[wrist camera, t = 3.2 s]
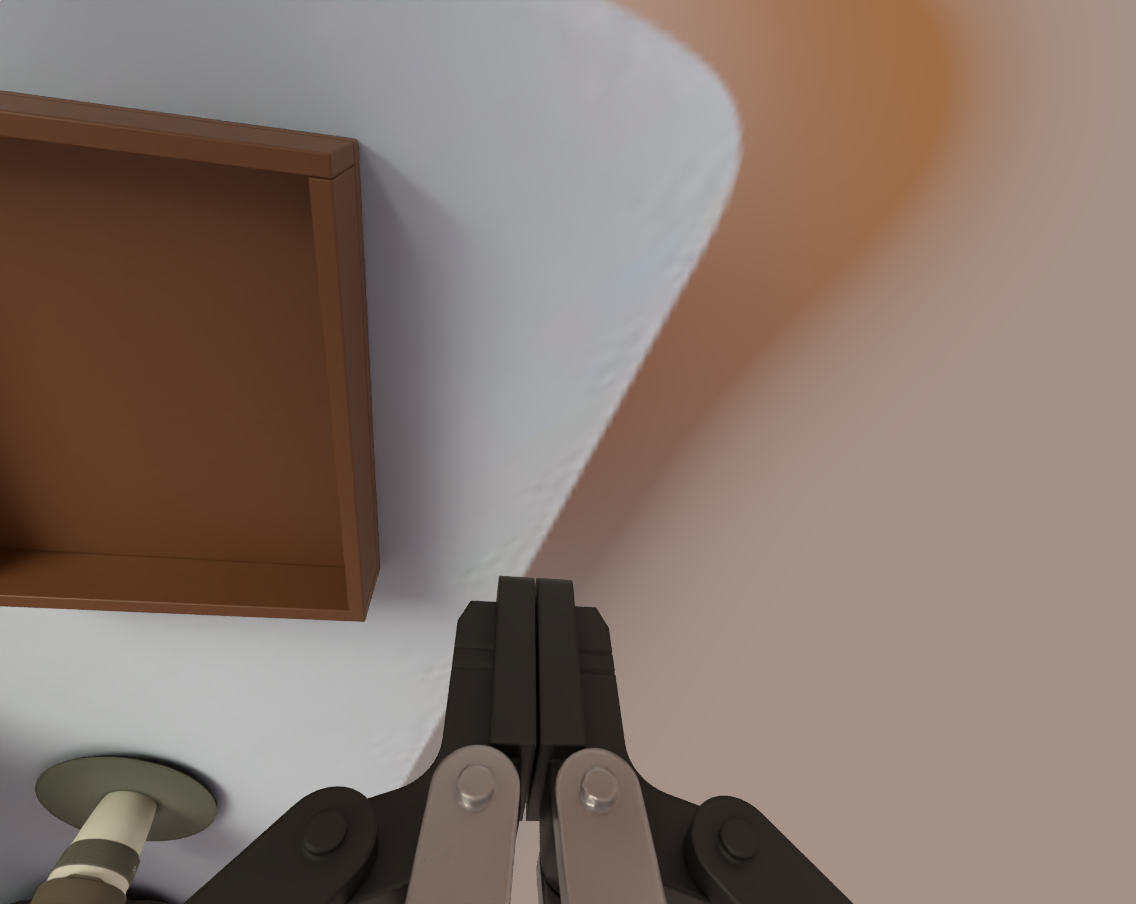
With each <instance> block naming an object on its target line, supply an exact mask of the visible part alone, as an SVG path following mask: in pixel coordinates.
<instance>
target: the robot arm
mask: <svg viewBox="0 0 1136 904" xmlns="http://www.w3.org/2000/svg"><path fill="white" fill-rule="evenodd" d="M614 671H615V669H614V662H613V656H612V648H611V640H610V633H609V628H608V626H607V624H606V623H605V621H604V620H603V618H602V616H601V615H600V613H599V612H598V610H597V608H595V607H578V606H575V604H574V591H573V583H572V580H563V579H547V578H537V579H536V583H535V581H534V578H527V577H511V576H499V581H498V590H497V600H496V602H485V601H470V603H469V604H468V606H467V607H466V609H465V610H464V612H463V613H462V615H461V616H460V618H459V619H458V623H457V631H456V638H455V647H454V654H453V662H452V670H451V677H450V685H449V693H448V701H447V709H446V716H445V725H444V732H443V740H442V744H441V748H440V751H439V753H438V756H437V757H436V759H435V761H434V763H433V764H432V765H431V766H430V768H429V769H428V770H427V771H426V772H425V773H424V774H423V775H422V776H421V777H419V778H418V779H417V780H415V781H414V782H412V783H410V784H408V785H407V786H404V787H401V788H399V789H396V790H393V791H390V792H387V793H383V794H380V795H377V796H374V797H371V798H368V799H367V798H366V797H365V796H364V795H363V794H361V793H360V792H358V791H356V790H354V789H351V788H347V787H339V786H336V787H328V788H324V789H320V790H317V791H315V792H313V793H311V794H309V795H307V796H305V797H304V798H302V799H301V800H300V801H298V802H297V803H296V804H295V805H294V806H292V807H291V808H290V809H289V810H288V811H287V812H286V813H285V814H283V815H282V816H281V817H280V818H279V819H278V820H277V821H276V822H275V823H273V824H272V825H271V826H270V827H269V828H268V829H267V830H266V831H264V832H263V833H262V834H261V835H260V836H259V837H258V838H257V839H255V840H254V841H253V842H252V843H251V844H250V845H249V846H248V847H246V848H245V849H244V850H243V851H242V852H241V853H240V854H239V855H238V856H236V857H235V858H234V859H233V860H232V861H231V862H230V863H229V864H227V865H226V866H225V867H224V868H223V869H222V870H221V871H220V872H218V873H217V874H216V875H215V876H214V877H213V878H212V879H211V880H209V881H208V882H207V883H206V884H205V885H204V886H203V887H202V888H200V889H199V890H198V891H197V892H196V893H195V894H194V895H193V896H192V897H190V898H189V899H188V900H187V901H186V902H185V903H184V904H510V899H511V889H512V877H513V865H514V854H515V842H516V835H517V831H518V825H519V821H522V819H523V813H524V808H525V803H526V821H540V852H539V857H538V861H537V886H538V900H539V904H853V903H852V902H851V901H850V900H849V899H848V898H847V897H846V896H845V895H844V894H843V893H842V892H841V891H840V890H839V889H838V888H837V887H836V886H835V885H834V884H833V883H832V882H831V881H829V879H828V878H827V877H826V876H825V875H823V873H822V872H821V871H820V870H819V869H818V868H817V867H816V866H815V865H814V864H813V863H812V862H810V860H808V859H807V858H806V857H805V856H804V855H803V854H802V853H801V852H800V851H799V850H798V849H797V848H796V847H795V846H794V845H793V844H792V843H791V842H790V841H789V840H788V839H787V838H786V837H785V836H784V835H783V834H782V833H781V832H780V831H779V830H778V829H777V828H776V827H775V826H774V825H773V824H772V823H771V822H770V821H769V820H768V819H767V818H766V817H765V816H764V815H763V814H762V813H761V812H760V811H759V810H757V809H756V808H755V807H754V806H752V805H751V804H749V803H748V802H745V801H743V800H741V799H739V798H735V797H731V796H717V797H713V798H710V799H708V800H707V801H705V802H704V803H703V804H701V806H698V805H696V804H693V803H691V802H688V801H685V800H683V799H680V798H677V797H674V796H672V795H669V794H666V793H664V792H662V791H660V790H658V789H656V788H655V787H653V786H652V785H650V784H649V783H648V782H647V781H645V780H644V779H643V778H642V777H641V775H640V774H639V773H638V772H637V771H636V769H635V768H634V766H633V765H632V763H631V761H630V759H629V756H628V754H627V751H626V746H625V740H624V733H623V727H622V719H621V712H620V705H619V697H618V691H617V683H616V676H615V674H614Z"/></svg>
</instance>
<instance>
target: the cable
mask: <svg viewBox="0 0 1136 904" xmlns="http://www.w3.org/2000/svg"><path fill="white" fill-rule="evenodd" d="M31 901H32V899H31V900H24V901H19V902H15V903H11V904H30V903H31ZM125 904H167V903H164V902H160V901H154V900H137V901H130V900H127V899H126V902H125Z"/></svg>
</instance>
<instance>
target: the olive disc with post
mask: <svg viewBox="0 0 1136 904" xmlns="http://www.w3.org/2000/svg"><path fill="white" fill-rule="evenodd" d="M35 791H36V796H37V798H38V800H39V801H40V803H41V804H42V805H43V806H44V807H45V808H46V809H47V810H48V811H49V812H50V813H51V814H53V815H54V816H55V817H57V818H58V819H60V820H62V821H64V822H65V823H67V824H69V825H71V826H74V827H76V828H78V829H81V830H80V831H79V833H78V834H77V836H76V837H75V839H74V840H73V841H72V843H71V844H70V846H69V847H68V848H67V849H66V851H65V852H64V853H63V855H62V856H61V858H60V860H59V861H58V863H57V864H56V866H55V867H54V868H53V870H52V871H51V874H50V876H49V877H48V879H47V881H46V882H44V883H42V884H41V885H40V886H39V887H38V888H37V890H36V892H35V894H34V896H33V899H32V901H31V903H30V904H125V902H126V895H125V894H126V891H127V889H128V888H129V887H130V885H131V883H132V881H133V878H134V876H135V874H136V871H137V869H138V866H139V863H140V860H139V858H140V855H141V852H142V849H143V847H144V844H145V841H167V840H175V839H181V838H185V837H189V836H192V835H195V834H197V833H199V832H201V831H203V830H204V829H206V828H207V827H208V826H209V825H210V824H211V823H212V822H213V820H214V819H215V817H216V813H217V802H216V799H215V798H214V796H213V794H212V793H211V791H210V790H209V789H208V788H207V787H206V786H205V785H204V784H202V783H201V782H199V781H198V780H197V779H195V778H194V777H191V776H190V775H188V774H187V773H184V772H181V771H179V770H177V769H175V768H172V767H170V766H167V765H164V764H161V763H156V762H153V761H148V760H143V759H137V758H132V757H120V756H94V757H82V758H77V759H73V760H69V761H65V762H62V763H60V764H57V765H55V766H53V767H51V768H49V769H48V770H46V771H45V772H44V773H43V774H42V775H41V776H40V777H39V778H38V780H37V783H36V787H35Z"/></svg>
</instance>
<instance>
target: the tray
mask: <svg viewBox="0 0 1136 904" xmlns="http://www.w3.org/2000/svg"><path fill="white" fill-rule="evenodd" d="M379 570H380V558H379V539H378V519H377V500H376V480H375V460H374V441H373V421H372V401H371V382H370V362H369V342H368V323H367V303H366V284H365V264H364V244H363V225H362V205H361V185H360V166H359V146H358V140H357V139H353V138H346V137H339V136H331V135H324V134H316V133H309V132H302V131H294V130H287V129H280V128H272V127H265V126H258V125H250V124H243V123H235V122H228V121H221V120H213V119H206V118H199V117H191V116H184V115H177V114H169V113H162V112H155V111H147V110H140V109H132V108H125V107H118V106H110V105H103V104H96V103H88V102H81V101H74V100H66V99H59V98H51V97H44V96H37V95H29V94H22V93H15V92H7V91H0V606H9V607H33V608H56V609H79V610H103V611H126V612H149V613H172V614H196V615H219V616H242V617H266V618H289V619H312V620H336V621H359V622H364V621H365V619H366V616H367V612H368V609H369V605H370V602H371V598H372V595H373V591H374V588H375V584H376V581H377V577H378V574H379Z"/></svg>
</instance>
